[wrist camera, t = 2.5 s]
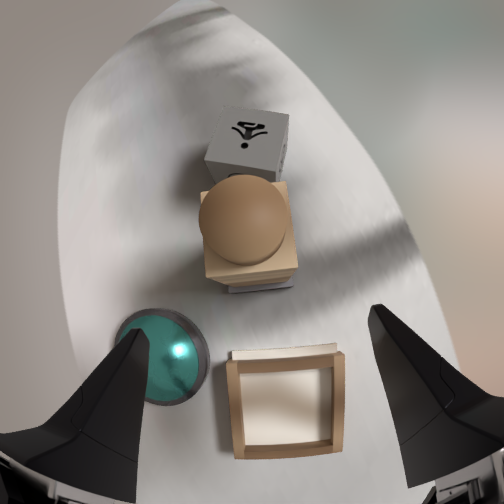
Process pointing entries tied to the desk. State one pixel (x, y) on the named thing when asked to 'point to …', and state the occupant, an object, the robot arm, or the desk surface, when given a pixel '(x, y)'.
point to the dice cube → (248, 144)
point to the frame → (286, 401)
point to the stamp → (248, 234)
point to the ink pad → (170, 355)
